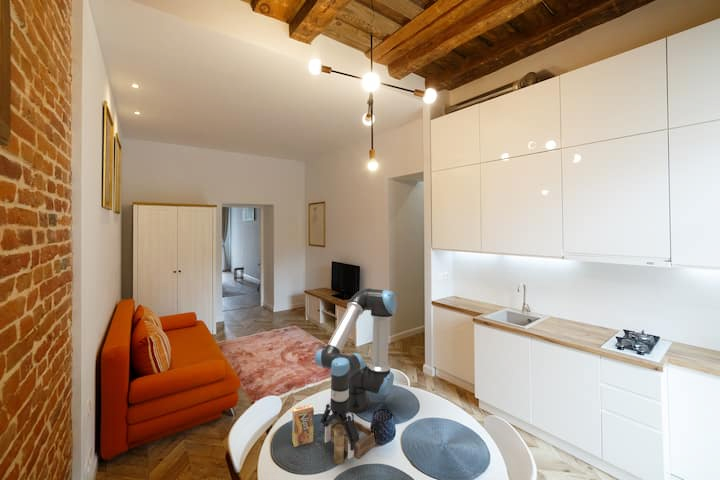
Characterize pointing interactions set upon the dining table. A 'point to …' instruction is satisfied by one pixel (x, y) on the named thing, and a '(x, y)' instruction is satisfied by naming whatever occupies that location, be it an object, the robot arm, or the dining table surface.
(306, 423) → the candy box
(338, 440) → the peg
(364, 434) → the crate
